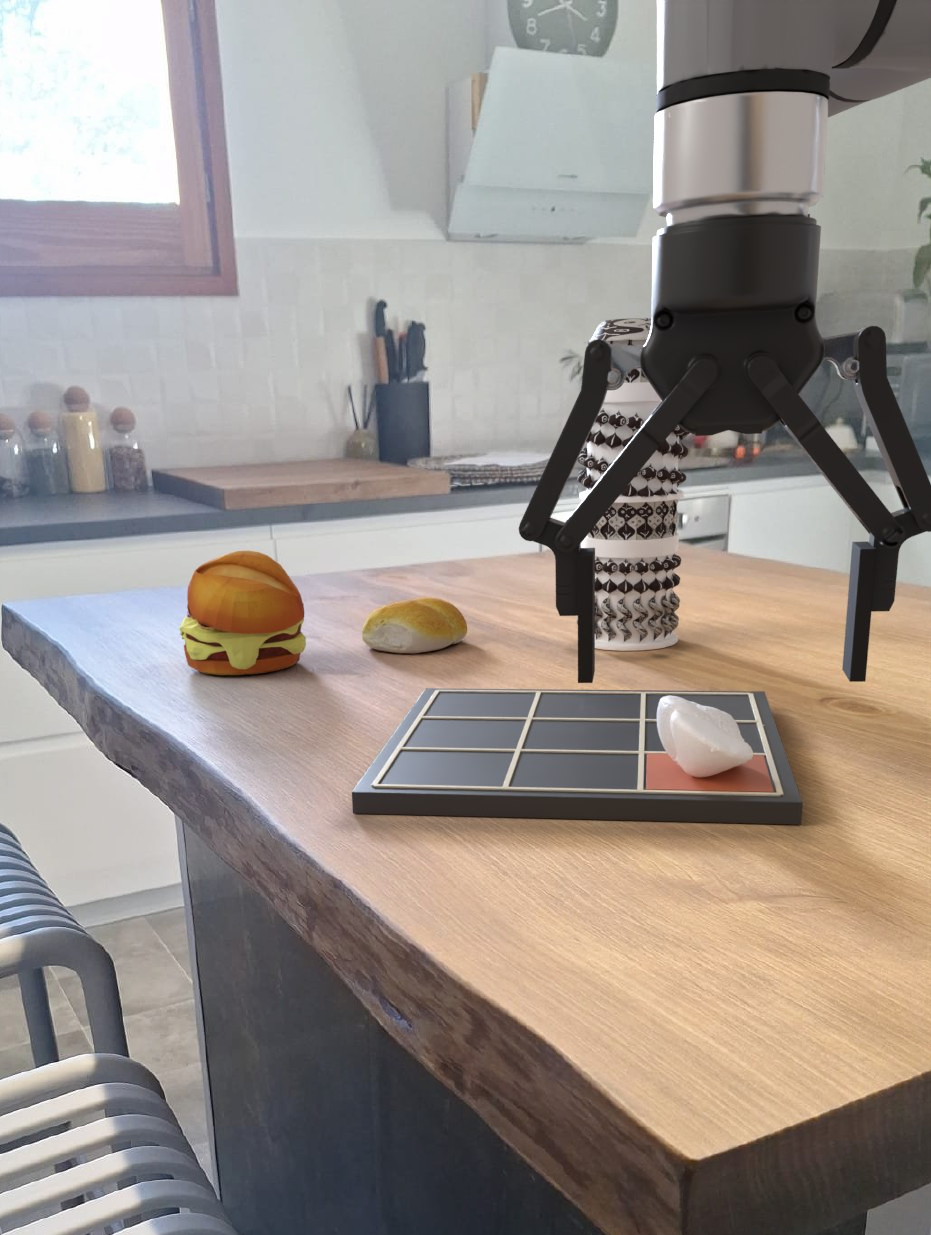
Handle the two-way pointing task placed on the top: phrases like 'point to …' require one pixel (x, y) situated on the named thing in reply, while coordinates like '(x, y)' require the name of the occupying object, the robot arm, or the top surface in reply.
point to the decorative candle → (634, 513)
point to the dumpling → (700, 737)
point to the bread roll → (414, 626)
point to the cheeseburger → (242, 616)
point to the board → (572, 760)
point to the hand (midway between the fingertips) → (717, 677)
